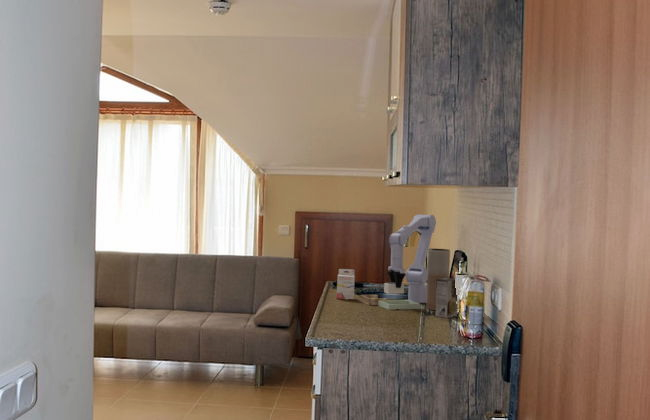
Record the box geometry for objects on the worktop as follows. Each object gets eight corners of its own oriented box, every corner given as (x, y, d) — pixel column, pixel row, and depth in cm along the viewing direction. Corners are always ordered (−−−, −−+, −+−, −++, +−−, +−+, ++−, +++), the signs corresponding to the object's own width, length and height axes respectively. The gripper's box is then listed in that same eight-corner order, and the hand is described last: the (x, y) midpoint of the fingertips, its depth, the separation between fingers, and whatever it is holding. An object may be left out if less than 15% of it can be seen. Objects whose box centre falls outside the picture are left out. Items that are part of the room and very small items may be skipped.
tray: (408, 305, 302) (409, 300, 302) (420, 309, 291) (420, 304, 291) (378, 305, 297) (378, 300, 297) (388, 309, 286) (388, 304, 286)
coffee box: (446, 314, 279) (448, 277, 279) (459, 316, 275) (460, 279, 275) (434, 315, 273) (435, 278, 273) (447, 318, 268) (448, 280, 268)
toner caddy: (399, 291, 303) (399, 281, 303) (404, 293, 298) (404, 282, 298) (384, 292, 301) (384, 281, 301) (388, 294, 296) (388, 283, 296)
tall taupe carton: (451, 310, 289) (453, 250, 289) (431, 311, 286) (433, 249, 286) (442, 307, 298) (444, 248, 298) (422, 307, 296) (424, 248, 296)
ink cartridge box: (336, 299, 314) (337, 269, 314) (337, 297, 319) (338, 268, 319) (353, 299, 313) (354, 270, 313) (354, 298, 318) (355, 269, 318)
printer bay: (376, 300, 313) (376, 294, 313) (387, 304, 300) (387, 298, 300) (358, 301, 310) (359, 294, 310) (369, 305, 297) (369, 298, 297)
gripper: (383, 257, 305) (382, 285, 305) (395, 259, 292) (394, 288, 292) (396, 257, 308) (395, 285, 308) (409, 259, 294) (408, 288, 294)
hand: (395, 287), depth 300 cm, fingers closed on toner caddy, 5 cm apart
